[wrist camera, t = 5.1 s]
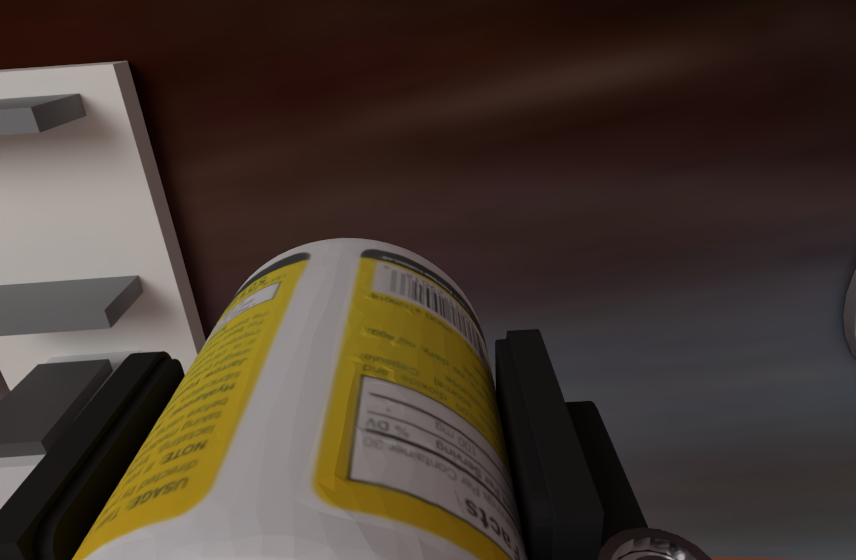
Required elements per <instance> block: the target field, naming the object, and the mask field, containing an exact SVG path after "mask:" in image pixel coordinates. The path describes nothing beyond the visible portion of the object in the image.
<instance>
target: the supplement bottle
mask: <svg viewBox="0 0 856 560" xmlns="http://www.w3.org/2000/svg"><path fill="white" fill-rule="evenodd" d="M72 560H528V557H527V553H526V548H525V543H524V538H523V532H522V526H521V521H520V516H519V512H518V506H517V500H516V495H515V490H514V485H513V479H512V474H511V469H510V463H509V458H508V453H507V448H506V443H505V439H504V433H503V427H502V422H501V418H500V412H499V407H498V403H497V397H496V391H495V386H494V381H493V377H492V372H491V366H490V362H489V357H488V353H487V348H486V344H485V340H484V336H483V333H482V330H481V327H480V324H479V321H478V318H477V316H476V314H475V312H474V310H473V308H472V306H471V304H470V302H469V301H468V299H467V298H466V296H465V295H464V293H463V292H462V291H461V290H460V288H459V287H458V286H457V285H456V284H455V282H454V281H453V280H451V279H450V278H449V277H448V276H447V275H446V274H445V273H444V272H443V271H442V270H440V269H439V268H438V267H436V266H435V265H434V264H432V263H430V262H429V261H427V260H426V259H424V258H423V257H421V256H419V255H417V254H415V253H413V252H411V251H409V250H407V249H404V248H401V247H398V246H395V245H392V244H388V243H384V242H380V241H375V240H367V239H359V238H339V239H328V240H323V241H317V242H312V243H308V244H305V245H302V246H299V247H296V248H294V249H291V250H289V251H287V252H285V253H283V254H281V255H279V256H277V257H275V258H274V259H272V260H270V261H269V262H267V263H266V264H265V265H263V266H262V267H261V268H259V269H258V270H257V271H256V272H255V273H254V274H253V275H251V276H250V277H249V278H248V280H247V281H246V282H245V283H244V284H243V285H242V287H241V288H240V289H239V291H238V292H237V293H236V295H235V296H234V298H233V299H232V300H231V302H230V303H229V305H228V306H227V308H226V310H225V311H224V313H223V315H222V316H221V317H220V319H219V321H218V322H217V324H216V326H215V327H214V329H213V330H212V332H211V334H210V336H209V337H208V339H207V341H206V342H205V344H204V346H203V348H202V349H201V351H200V353H199V354H198V356H197V357H196V359H195V360H194V362H193V364H192V365H191V367H190V369H189V370H188V372H187V373H186V375H185V377H184V378H183V380H182V382H181V383H180V385H179V386H178V388H177V390H176V391H175V393H174V395H173V396H172V398H171V400H170V401H169V403H168V405H167V406H166V408H165V410H164V411H163V413H162V414H161V416H160V417H159V419H158V421H157V422H156V424H155V426H154V427H153V429H152V431H151V432H150V434H149V436H148V437H147V439H146V440H145V442H144V444H143V445H142V447H141V449H140V450H139V452H138V453H137V455H136V457H135V458H134V460H133V461H132V463H131V465H130V466H129V468H128V469H127V471H126V473H125V474H124V476H123V478H122V479H121V481H120V482H119V484H118V486H117V487H116V489H115V491H114V492H113V494H112V495H111V497H110V499H109V500H108V502H107V504H106V505H105V507H104V508H103V510H102V512H101V513H100V515H99V516H98V518H97V520H96V521H95V523H94V525H93V526H92V528H91V529H90V531H89V533H88V534H87V536H86V537H85V539H84V541H83V542H82V544H81V546H80V547H79V549H78V550H77V552H76V554H75V555H74V557H73V558H72Z"/></svg>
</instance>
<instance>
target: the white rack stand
mask: <svg viewBox="0 0 856 560" xmlns="http://www.w3.org/2000/svg"><path fill="white" fill-rule="evenodd" d="M205 342H206V340H205V336H204V333H203V329H202V326H201V322H200V318H199V315H198V311H197V308H196V304H195V300H194V297H193V293H192V290H191V286H190V283H189V279H188V275H187V272H186V268H185V265H184V261H183V258H182V254H181V250H180V247H179V243H178V240H177V236H176V232H175V229H174V225H173V222H172V218H171V215H170V211H169V207H168V204H167V200H166V197H165V193H164V190H163V186H162V182H161V179H160V175H159V172H158V168H157V165H156V161H155V157H154V154H153V150H152V147H151V143H150V139H149V136H148V132H147V129H146V125H145V122H144V118H143V114H142V111H141V107H140V104H139V100H138V97H137V93H136V89H135V86H134V82H133V79H132V75H131V71H130V68H129V64H128V61H120V62H106V63H92V64H77V65H63V66H49V67H35V68H21V69H7V70H0V370H1V372H2V374H3V377H4V379H5V381H6V383H7V385H8V387H9V389H10V392H9V393H8V394H7V395H6V396H5V397H4V398H3V399H2V400H1V401H0V509H1V508H2V506H3V505H4V504H5V503H6V502H7V500H8V499H9V498H10V497H11V496H12V494H13V493H14V492H15V491H16V490H17V488H18V487H19V486H20V485H21V484H22V482H23V481H24V480H25V479H26V478H27V476H28V475H29V474H30V473H31V472H32V470H33V469H34V468H35V467H36V466H37V464H38V463H39V462H40V461H41V460H42V458H43V457H44V456H45V455H46V454H47V452H48V451H49V450H50V449H51V448H52V446H53V445H54V444H55V443H56V442H57V440H58V439H59V438H60V437H61V436H62V434H63V433H64V432H65V431H66V430H67V428H68V427H69V426H70V425H71V424H72V422H73V421H74V420H75V419H76V418H77V416H78V415H79V414H80V413H81V412H82V410H83V409H84V408H85V407H86V406H87V404H88V403H89V402H90V401H91V400H92V398H93V397H94V396H95V395H96V394H97V392H98V391H99V390H100V389H101V388H102V386H103V385H104V384H105V383H106V382H107V380H108V379H109V378H110V377H111V376H112V374H113V373H114V372H115V371H116V370H117V368H118V367H119V366H120V365H121V364H122V362H123V361H124V360H125V359H126V358H127V357H128V356H129V355H130V354H132V353H143V352H160V351H165V352H167V353H168V354H169V355H170V356H171V358H172V359H178V360H179V361H180V363H181V365H182V368H183V371H184V374H185V375H186V373H187V372H188V370H189V369H190V367H191V365H192V364H193V362H194V360H195V359H196V357H197V356H198V354H199V353H200V351H201V349H202V348H203V346H204V344H205Z"/></svg>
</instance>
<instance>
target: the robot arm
mask: <svg viewBox="0 0 856 560" xmlns="http://www.w3.org/2000/svg"><path fill="white" fill-rule="evenodd" d="M843 321H844V331H845V338H846V340H847V343H848V345H849V348H850V350H851V353H852V354H853V356H854V357H855V358H856V270H855V271H854V274H853V277H852V279H851V282H850V285H849V288H848V291H847V294H846V299H845V306H844V314H843ZM495 361H496V397H497V403H498V407H499V412H500V418H501V422H502V427H503V433H504V439H505V443H506V448H507V453H508V458H509V463H510V469H511V474H512V479H513V485H514V490H515V495H516V500H517V506H518V512H519V516H520V521H521V526H522V532H523V538H524V543H525V548H526V553H527V557H528V560H712V559H711V558H710V557H709V556H708V555H707V554H706V553H704V552H703V551H702V550H701V549H700V548H699V547H698V546H697V545H695V544H693V543H691V542H690V541H688V540H686V539H684V538H683V537H681V536H679V535H677V534H674V533H671V532H667V531H664V530H661V529H655V528H648V526H647V524H646V521H645V519H644V517H643V514H642V512H641V510H640V507H639V505H638V503H637V500H636V498H635V496H634V493H633V491H632V489H631V486H630V484H629V482H628V479H627V477H626V475H625V472H624V470H623V468H622V465H621V463H620V461H619V458H618V456H617V454H616V451H615V449H614V447H613V444H612V442H611V440H610V437H609V435H608V433H607V430H606V428H605V426H604V423H603V421H602V419H601V416H600V414H599V412H598V409H597V408H596V406H595V404H594V403H593V402H592V401H583V402H565V401H564V398H563V395H562V392H561V389H560V387H559V384H558V381H557V378H556V375H555V373H554V370H553V367H552V364H551V361H550V358H549V356H548V353H547V350H546V347H545V344H544V342H543V339H542V336H541V333H540V331H539V330H538V329H533V330H516V331H507V335H506V339H501V340H496V342H495ZM184 377H185V374H184V371H183V368H182V365H181V363H180V361H179V360H178V359H172V358H171V356H170V355H169V354H168V353H167V352H165V351H160V352H143V353H132V354H130V355H129V356H128V357H127V358H126V359H125V360H124V361H123V362H122V364H121V365H120V366H119V367H118V368H117V370H116V371H115V372H114V373H113V374H112V376H111V377H110V378H109V379H108V380H107V382H106V383H105V384H104V385H103V386H102V388H101V389H100V390H99V391H98V392H97V394H96V395H95V396H94V397H93V398H92V400H91V401H90V402H89V403H88V404H87V406H86V407H85V408H84V409H83V410H82V412H81V413H80V414H79V415H78V416H77V418H76V419H75V420H74V421H73V422H72V424H71V425H70V426H69V427H68V428H67V430H66V431H65V432H64V433H63V434H62V436H61V437H60V438H59V439H58V440H57V442H56V443H55V444H54V445H53V446H52V448H51V449H50V450H49V451H48V452H47V454H46V455H45V456H44V457H43V458H42V460H41V461H40V462H39V463H38V464H37V466H36V467H35V468H34V469H33V470H32V472H31V473H30V474H29V475H28V476H27V478H26V479H25V480H24V481H23V482H22V484H21V485H20V486H19V487H18V488H17V490H16V491H15V492H14V493H13V494H12V496H11V497H10V498H9V499H8V500H7V502H6V503H5V504H4V505H3V506H2V508H1V509H0V560H72V558H73V557H74V555H75V554H76V552H77V550H78V549H79V547H80V546H81V544H82V542H83V541H84V539H85V537H86V536H87V534H88V533H89V531H90V529H91V528H92V526H93V525H94V523H95V521H96V520H97V518H98V516H99V515H100V513H101V512H102V510H103V508H104V507H105V505H106V504H107V502H108V500H109V499H110V497H111V495H112V494H113V492H114V491H115V489H116V487H117V486H118V484H119V482H120V481H121V479H122V478H123V476H124V474H125V473H126V471H127V469H128V468H129V466H130V465H131V463H132V461H133V460H134V458H135V457H136V455H137V453H138V452H139V450H140V449H141V447H142V445H143V444H144V442H145V440H146V439H147V437H148V436H149V434H150V432H151V431H152V429H153V427H154V426H155V424H156V422H157V421H158V419H159V417H160V416H161V414H162V413H163V411H164V410H165V408H166V406H167V405H168V403H169V401H170V400H171V398H172V396H173V395H174V393H175V391H176V390H177V388H178V386H179V385H180V383H181V382H182V380H183V378H184Z"/></svg>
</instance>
